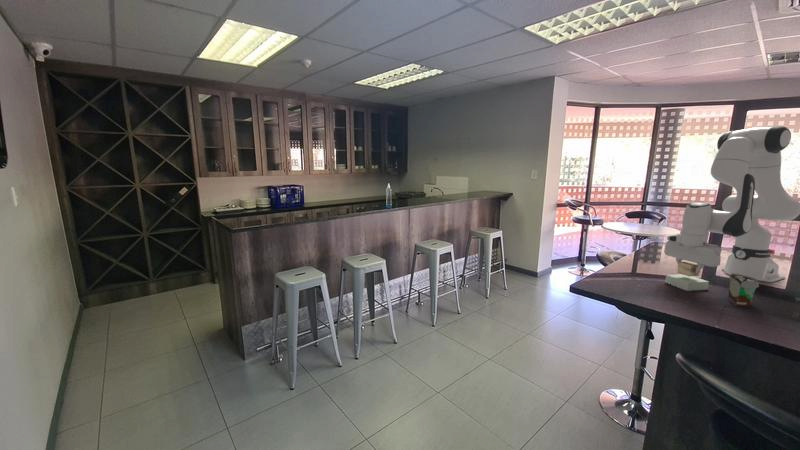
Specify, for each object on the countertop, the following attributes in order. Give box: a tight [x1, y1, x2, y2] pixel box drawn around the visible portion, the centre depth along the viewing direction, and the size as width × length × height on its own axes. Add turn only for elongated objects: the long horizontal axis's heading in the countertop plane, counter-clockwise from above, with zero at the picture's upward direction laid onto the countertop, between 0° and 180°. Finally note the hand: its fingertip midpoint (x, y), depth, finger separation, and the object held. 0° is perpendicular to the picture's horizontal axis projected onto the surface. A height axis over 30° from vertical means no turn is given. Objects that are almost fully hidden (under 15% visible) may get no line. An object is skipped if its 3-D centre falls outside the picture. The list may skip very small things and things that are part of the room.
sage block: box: [665, 273, 710, 292], centre depth 140 cm, size 10×10×4 cm
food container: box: [727, 273, 760, 308], centre depth 122 cm, size 12×6×10 cm, turn 148°
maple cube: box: [676, 260, 700, 277], centre depth 139 cm, size 5×5×5 cm
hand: (688, 270), depth 139 cm, fingers closed on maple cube, 5 cm apart
